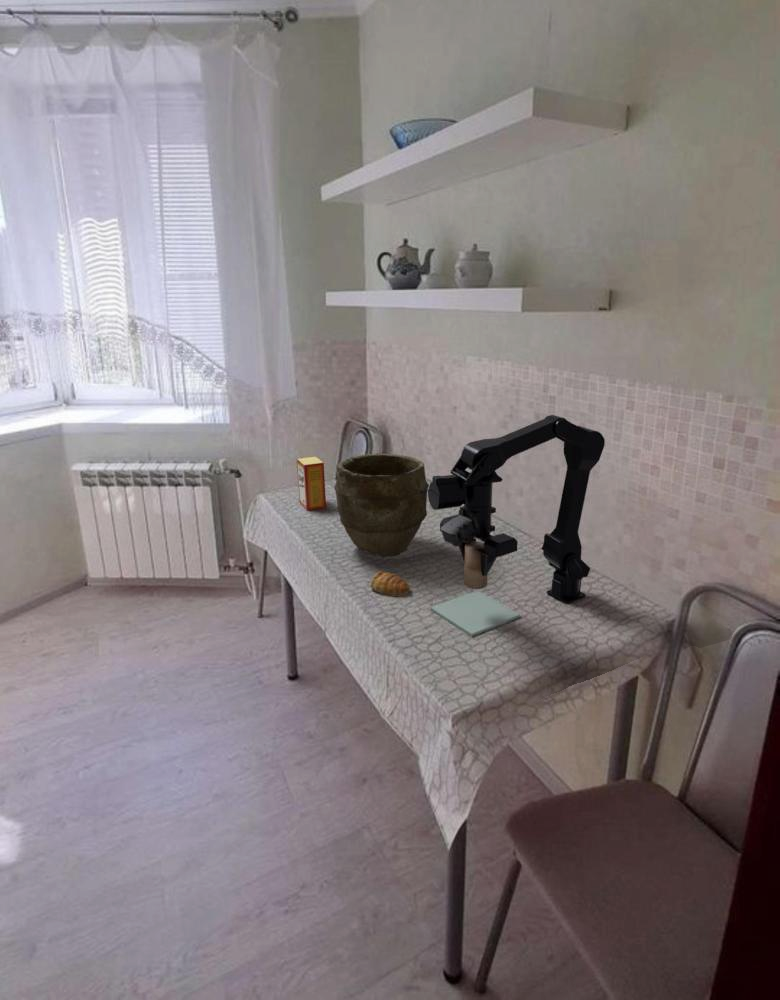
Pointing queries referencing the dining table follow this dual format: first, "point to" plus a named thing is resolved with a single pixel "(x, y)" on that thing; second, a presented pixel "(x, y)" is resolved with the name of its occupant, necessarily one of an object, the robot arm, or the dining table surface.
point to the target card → (474, 613)
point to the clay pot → (381, 501)
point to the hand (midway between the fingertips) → (476, 571)
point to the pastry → (389, 584)
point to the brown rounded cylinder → (474, 566)
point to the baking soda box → (311, 483)
